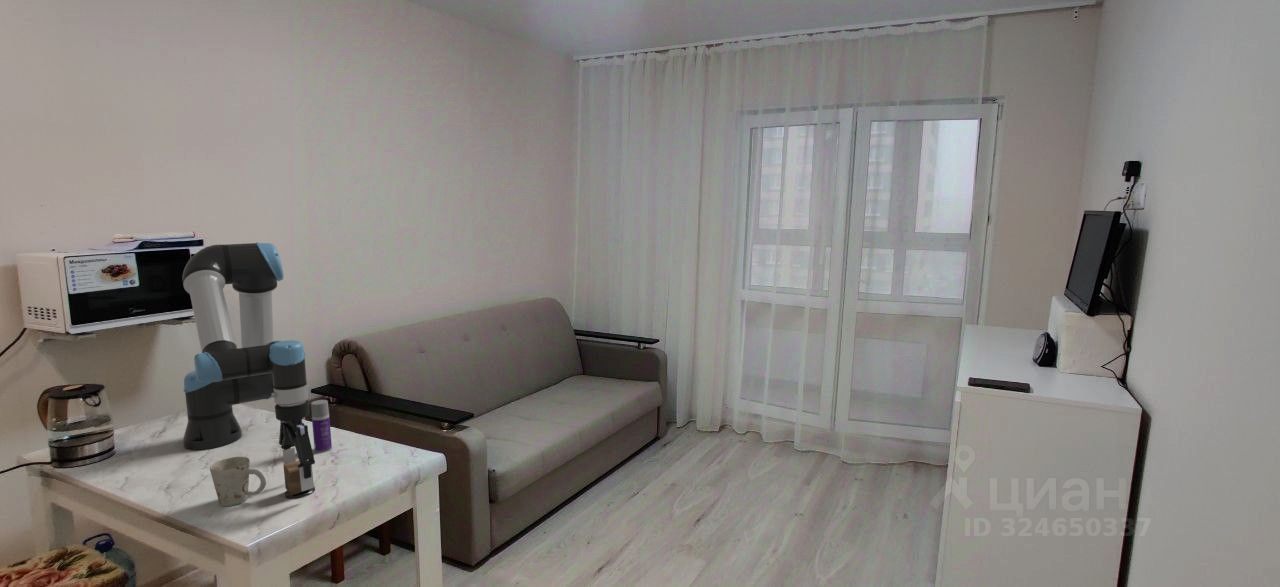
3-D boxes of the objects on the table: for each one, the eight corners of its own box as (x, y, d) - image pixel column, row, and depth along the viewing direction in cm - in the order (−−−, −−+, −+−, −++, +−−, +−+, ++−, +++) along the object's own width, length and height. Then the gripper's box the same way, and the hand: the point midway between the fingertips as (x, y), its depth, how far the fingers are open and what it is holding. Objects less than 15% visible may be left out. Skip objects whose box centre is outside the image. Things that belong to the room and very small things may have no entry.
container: (324, 453, 185) (320, 405, 183) (311, 451, 186) (306, 404, 184) (335, 447, 190) (331, 400, 188) (322, 445, 191) (318, 399, 188)
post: (280, 492, 161) (278, 466, 160) (309, 483, 166) (307, 458, 165) (289, 501, 156) (286, 475, 155) (318, 492, 161) (316, 466, 160)
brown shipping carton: (285, 488, 161) (283, 464, 160) (307, 482, 164) (305, 458, 163) (291, 495, 157) (289, 470, 156) (313, 488, 161) (311, 464, 160)
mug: (226, 493, 160) (222, 457, 159) (276, 491, 161) (273, 455, 160) (206, 509, 152) (202, 471, 150) (260, 507, 153) (256, 469, 151)
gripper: (261, 394, 163) (268, 470, 166) (290, 417, 146) (298, 501, 149) (292, 388, 168) (299, 461, 172) (324, 410, 151) (331, 491, 154)
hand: (298, 480), depth 160 cm, fingers open, 13 cm apart
